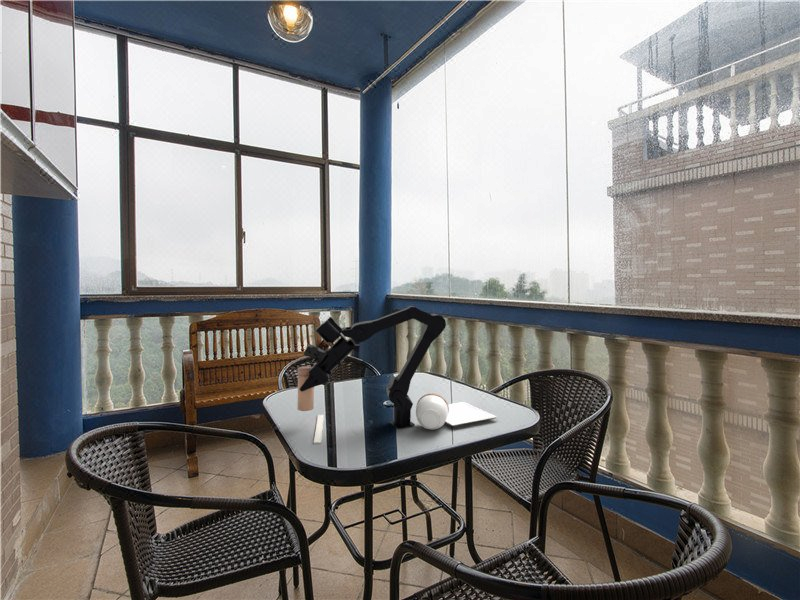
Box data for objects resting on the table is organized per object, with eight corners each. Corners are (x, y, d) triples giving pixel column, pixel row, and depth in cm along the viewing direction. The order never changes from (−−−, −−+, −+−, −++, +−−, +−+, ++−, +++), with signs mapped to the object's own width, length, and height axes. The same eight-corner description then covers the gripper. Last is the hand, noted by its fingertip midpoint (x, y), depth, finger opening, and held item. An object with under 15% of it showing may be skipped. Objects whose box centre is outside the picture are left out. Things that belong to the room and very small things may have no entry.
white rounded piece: (438, 397, 121) (440, 386, 130) (407, 410, 123) (411, 398, 133) (453, 428, 122) (454, 414, 131) (422, 440, 124) (425, 426, 133)
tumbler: (315, 410, 125) (316, 369, 124) (299, 412, 122) (299, 370, 122) (311, 405, 129) (312, 365, 129) (295, 407, 127) (296, 367, 126)
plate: (452, 431, 126) (452, 424, 126) (422, 413, 143) (422, 408, 142) (497, 422, 135) (497, 416, 135) (463, 406, 151) (464, 401, 151)
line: (320, 443, 115) (320, 441, 115) (313, 443, 114) (313, 442, 114) (323, 415, 138) (323, 414, 138) (318, 416, 138) (318, 414, 138)
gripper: (320, 332, 135) (286, 364, 133) (317, 339, 116) (278, 377, 115) (343, 354, 136) (310, 387, 135) (344, 366, 118) (305, 403, 117)
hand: (301, 388), depth 125 cm, fingers closed on tumbler, 5 cm apart
